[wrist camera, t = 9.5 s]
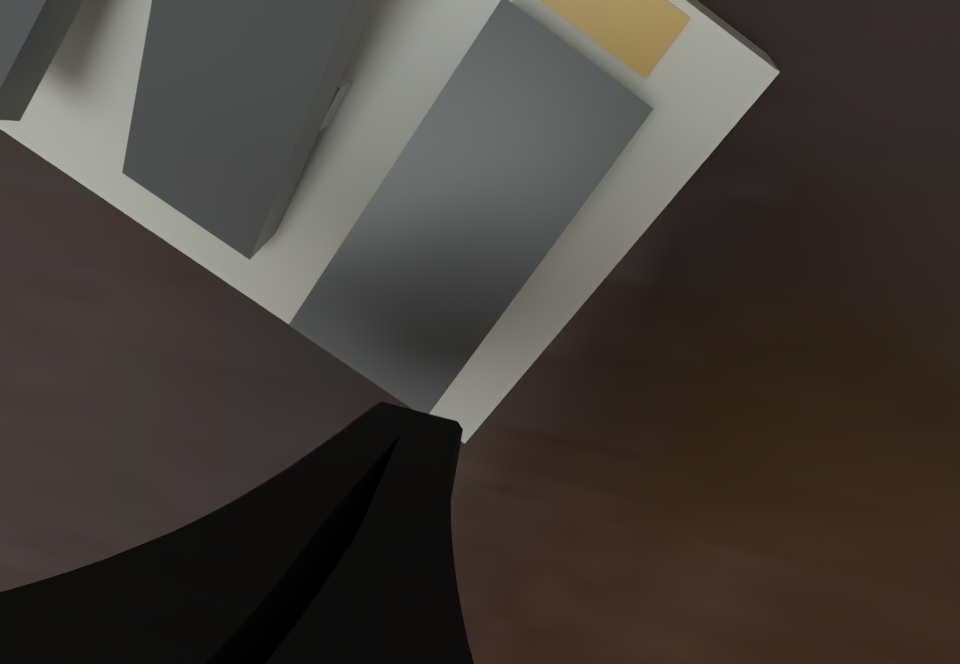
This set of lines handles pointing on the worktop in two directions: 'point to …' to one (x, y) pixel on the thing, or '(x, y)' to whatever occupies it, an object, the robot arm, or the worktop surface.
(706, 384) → the worktop surface
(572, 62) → the rocker
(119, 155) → the switch panel
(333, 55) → the rocker
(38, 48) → the rocker
